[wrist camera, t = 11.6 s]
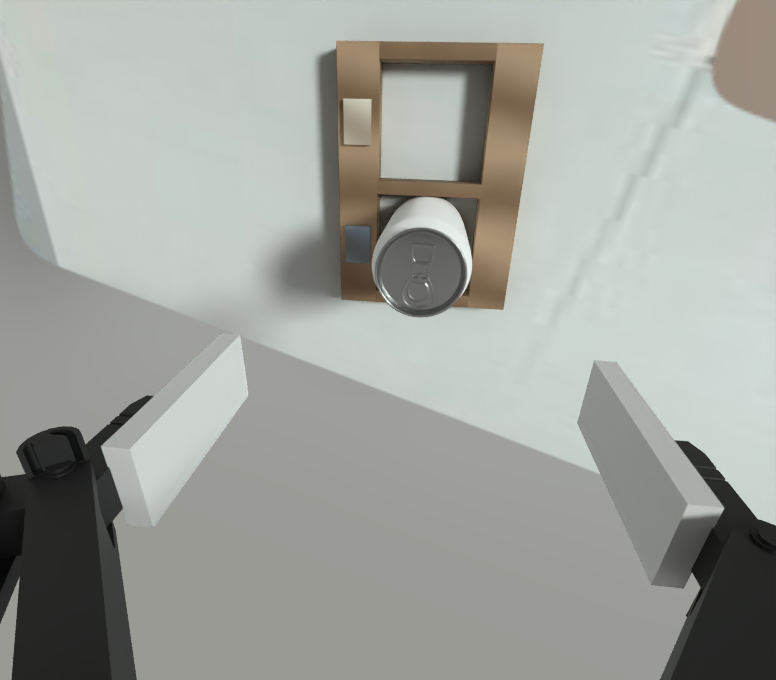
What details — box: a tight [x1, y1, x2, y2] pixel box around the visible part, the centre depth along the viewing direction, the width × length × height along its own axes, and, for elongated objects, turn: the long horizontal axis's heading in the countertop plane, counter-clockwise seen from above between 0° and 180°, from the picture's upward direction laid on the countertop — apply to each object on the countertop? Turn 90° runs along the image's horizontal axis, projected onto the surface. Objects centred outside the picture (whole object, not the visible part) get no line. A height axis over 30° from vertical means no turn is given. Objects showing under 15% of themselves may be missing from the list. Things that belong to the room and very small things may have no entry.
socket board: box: [336, 41, 544, 310], centre depth 34 cm, size 19×14×2 cm
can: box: [372, 196, 472, 317], centre depth 32 cm, size 6×6×12 cm
